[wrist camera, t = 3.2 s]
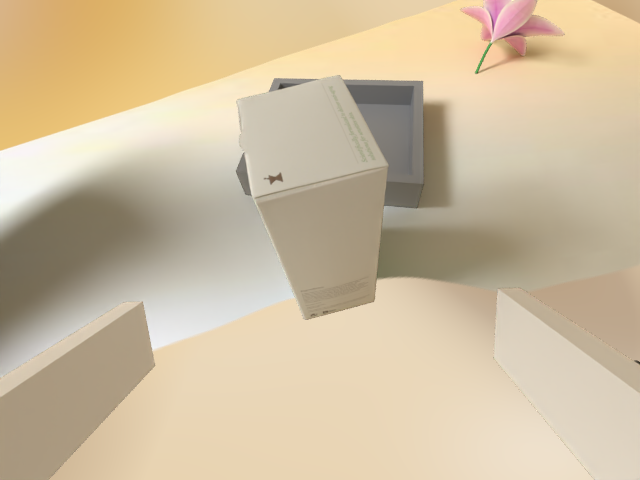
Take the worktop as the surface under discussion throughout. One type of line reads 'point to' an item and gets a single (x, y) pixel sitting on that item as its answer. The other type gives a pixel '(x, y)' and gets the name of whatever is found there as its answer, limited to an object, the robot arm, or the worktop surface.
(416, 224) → the worktop surface
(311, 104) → the skincare box
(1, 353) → the worktop surface
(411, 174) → the tray
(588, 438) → the robot arm
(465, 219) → the worktop surface
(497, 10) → the lily
